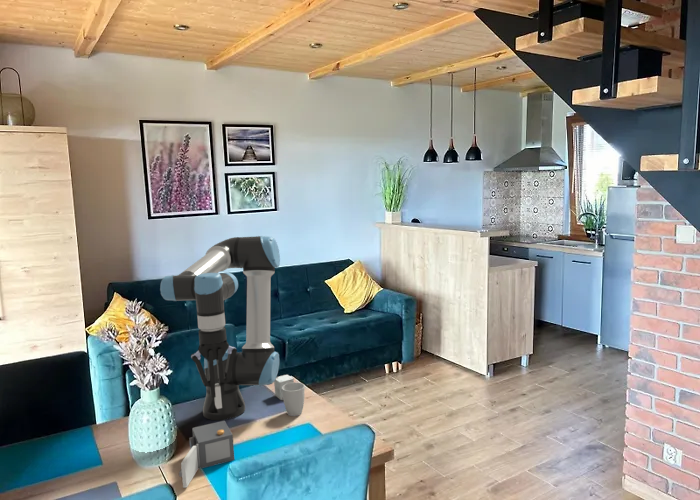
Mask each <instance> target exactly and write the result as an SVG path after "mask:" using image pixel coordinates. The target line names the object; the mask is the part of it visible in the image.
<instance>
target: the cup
mask: <svg viewBox="0 0 700 500" xmlns="http://www.w3.org/2000/svg"><path fill="white" fill-rule="evenodd" d="M305 389H306V388H305V384H304V383H303V382H302V383H301V382H299V381H298V382H297V381H295V382H293V383H288V384H285V385H283V386H282V393H283V400H282V401H283V404H284V407H285V411H286V413H287V415H288V416H289V417H290V416H291V417H297V416H300V415H302V414H303V410H304V406H305V392H306V391H305Z"/></svg>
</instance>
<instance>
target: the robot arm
mask: <svg viewBox="0 0 700 500" xmlns="http://www.w3.org/2000/svg"><path fill="white" fill-rule="evenodd" d="M280 254H281V253H280V250H279V246H278V242H277V240H276V239H275V238H274V237H272V236H267V235H265V236H263V235H260V236H259V235H258V236H242V237H238V236H237V237H236V236H235V237H230V238H228V239H227V238H226V239H224V240H222V241H220V242H218V243H215V244H214V245H212V246H210V247H209V248H208V250H207V251H206V253H205V255H204V256H202V257H201V258H199V259H198V260H197V261H196V262H193V264H191V265H190V266H189V267H188V268H186V269H184V270H183V271H182V272H181V273H179V274H177V275H173V274H172V275H167V276H164V277H163V278H162V279H161V281H160V286H159V287H160V288H159V291H160V295H161V297H162V298H163V299H164V300H165V301H173V302H177V301H178V302H179V301H181V302H182V301H195V305H196V316H197V318H196V319H197V328H198V341H199V343H198V344H199V345H198V348H197V351H196V352H194V353H192V354H190V358H191V360H192V361H193V362H194V363H195V366H196V369H197V371H198V374H199V375H200V377H199V378H200V379H201V381H202V385H203V386H204V387H205V390H206V395H205V398H204V402H203V406H202V414H203V415H202V416H203V417H204V418H205V419H206V420H210V421H211V420H212V421H225V420H231V419H233V418H236V417H238V416H239V417H240V415H242V414H243V413H244V412H245V411H246V402H245V399H244V397H243V395H242V393H241V391H240V386H260V387H261V386H271V385H272V384H273V383H274V381H275V379H276V377H278V373H279V369H280V354H279V352H278V351H275V346H274V345H273V344H272V342H271V282H272V281H271V278H272V276H273V275H274V274H275V271H276V269H277V268H279V267H280V264H281V256H280ZM275 268H276V269H275ZM228 269H242V273H243V274H244V275H245V277H246V329H245V330H246V333H245V334H246V335H245V336H246V337H245V338H246V339H245V340H246V341H245V344H244V345H243V346H242V347H241V351H239V352H238V350H237V348H236V347H235V346H231V345H230V344H229V342H228V341H227V340H228V339H227V328H226V327H225V326H226V315H225V304H224V303H225V301H226V300H227V299H229V298H231V297H232V296H234V294H235V293H236V292H237V290H238V288H239V281H238V278H237V277H236V276H235V275H234V274H233V273H230V272H224V271H226V270H228ZM201 356H202V357H203V358H204V359H203V360H204V361H203V365H202V363H201V359H202V357H201Z"/></svg>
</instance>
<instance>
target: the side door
mask: <svg viewBox="0 0 700 500" xmlns="http://www.w3.org/2000/svg"><path fill="white" fill-rule="evenodd" d="M180 467H181V468H180V470H179V472H178V475H179V478H181V477H182V480H181V481H182V488H188V487H189V484H191V481H192V480H193V478H194V477H195V475H196V473H197V472H198V470H199V469H201V468H200V459H199V447H198V444H196V446H193V447H192V448H191V449H190V448H189V451H188V452H187V454H186V455H185V457H184V458H183V459H182V461H181V463H180Z"/></svg>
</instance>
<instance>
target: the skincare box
mask: <svg viewBox="0 0 700 500" xmlns="http://www.w3.org/2000/svg"><path fill="white" fill-rule="evenodd" d="M294 380H295V379H294V378H293V377H292V376H290V375H289V374H283V375H280V376H277V377H276V379H275V381H274V382H273V383H274V395H275V397H276V398H278V399H279V400H280V401H284V400H283V393H282V386H283V385H285V384H288V383H293V382H294Z"/></svg>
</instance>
